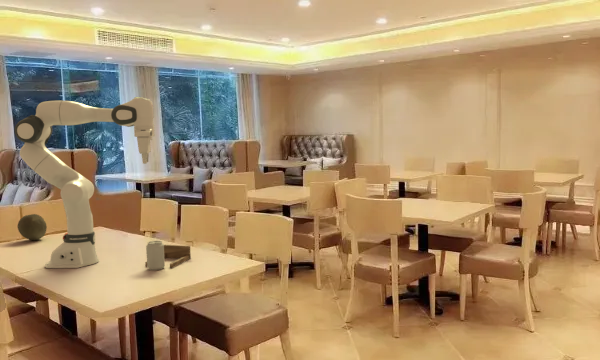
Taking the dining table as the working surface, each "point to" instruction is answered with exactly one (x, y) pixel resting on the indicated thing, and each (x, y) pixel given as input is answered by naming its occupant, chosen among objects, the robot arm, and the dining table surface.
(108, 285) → the dining table surface
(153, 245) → the can
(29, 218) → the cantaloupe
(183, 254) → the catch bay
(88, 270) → the dining table surface
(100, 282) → the dining table surface
